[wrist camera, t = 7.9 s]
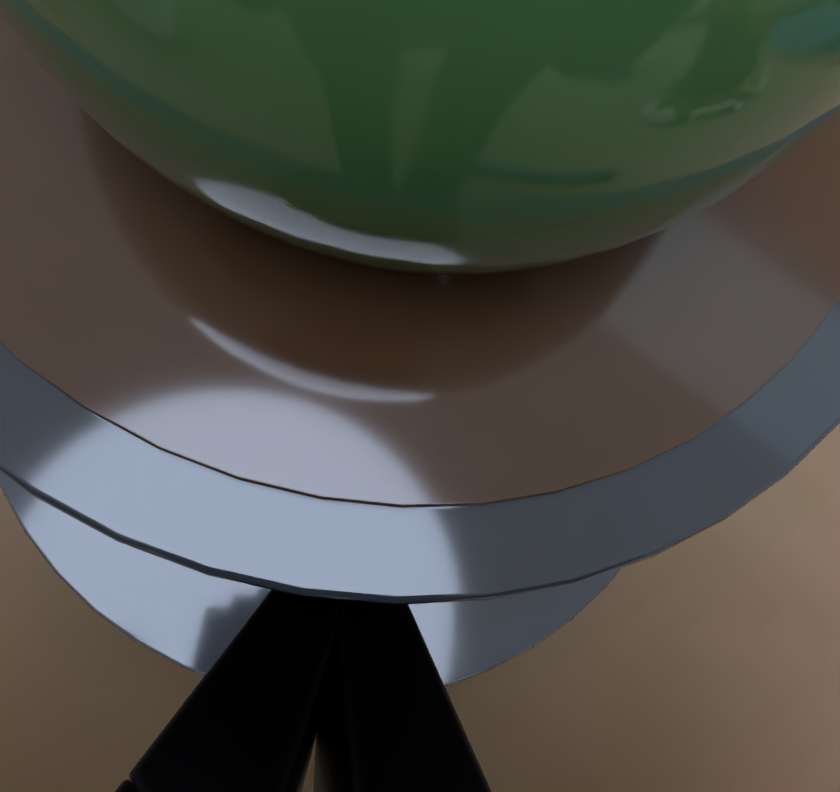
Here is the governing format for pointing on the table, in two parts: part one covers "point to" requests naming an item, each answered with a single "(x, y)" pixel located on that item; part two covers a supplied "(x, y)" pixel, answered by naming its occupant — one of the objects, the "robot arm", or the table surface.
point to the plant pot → (407, 298)
